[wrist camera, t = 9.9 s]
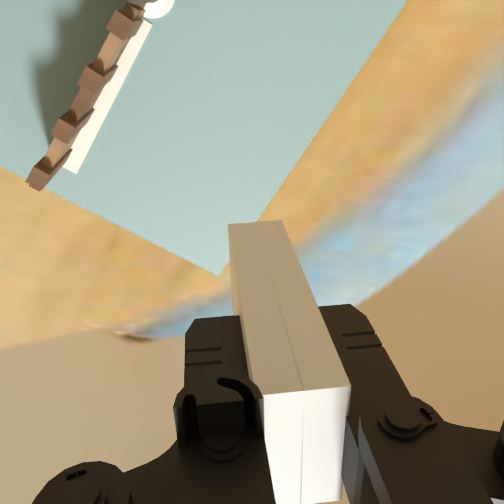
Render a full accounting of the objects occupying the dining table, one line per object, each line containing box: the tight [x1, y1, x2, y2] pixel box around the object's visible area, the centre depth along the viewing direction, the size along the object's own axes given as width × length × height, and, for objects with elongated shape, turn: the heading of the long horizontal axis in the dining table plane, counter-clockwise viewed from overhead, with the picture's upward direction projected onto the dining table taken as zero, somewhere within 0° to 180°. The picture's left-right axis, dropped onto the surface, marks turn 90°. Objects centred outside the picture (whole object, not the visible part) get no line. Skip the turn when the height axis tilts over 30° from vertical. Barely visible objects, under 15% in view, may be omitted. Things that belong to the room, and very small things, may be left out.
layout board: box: [0, 0, 407, 276], centre depth 28 cm, size 26×22×1 cm
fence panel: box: [25, 2, 146, 191], centre depth 26 cm, size 11×1×5 cm, turn 145°
